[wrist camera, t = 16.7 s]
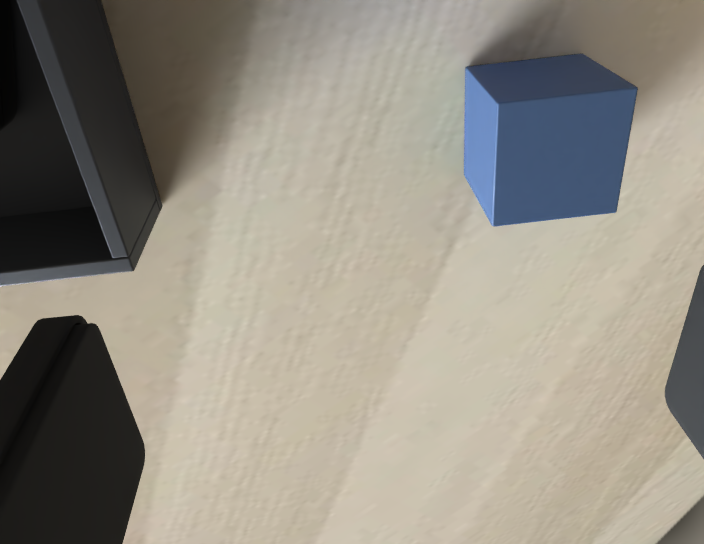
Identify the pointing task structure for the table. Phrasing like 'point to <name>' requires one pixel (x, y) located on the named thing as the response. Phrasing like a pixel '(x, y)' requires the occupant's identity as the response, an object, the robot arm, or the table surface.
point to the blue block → (546, 138)
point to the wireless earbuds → (6, 67)
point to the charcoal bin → (71, 151)
